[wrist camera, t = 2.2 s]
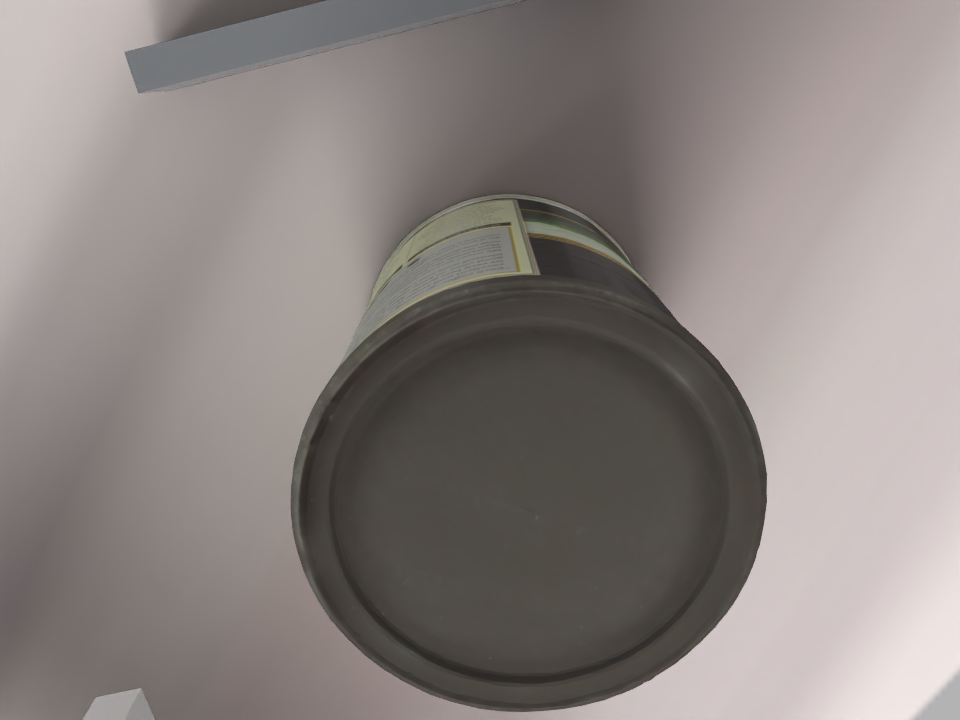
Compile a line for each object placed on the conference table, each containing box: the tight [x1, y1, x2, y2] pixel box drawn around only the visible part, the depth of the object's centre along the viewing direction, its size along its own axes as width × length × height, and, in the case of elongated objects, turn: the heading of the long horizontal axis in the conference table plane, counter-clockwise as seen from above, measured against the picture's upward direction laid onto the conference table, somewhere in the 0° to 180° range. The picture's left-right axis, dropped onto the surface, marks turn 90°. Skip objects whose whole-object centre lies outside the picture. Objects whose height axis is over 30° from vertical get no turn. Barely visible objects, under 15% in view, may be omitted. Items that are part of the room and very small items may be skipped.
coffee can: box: [291, 194, 767, 712], centre depth 26 cm, size 10×10×14 cm
